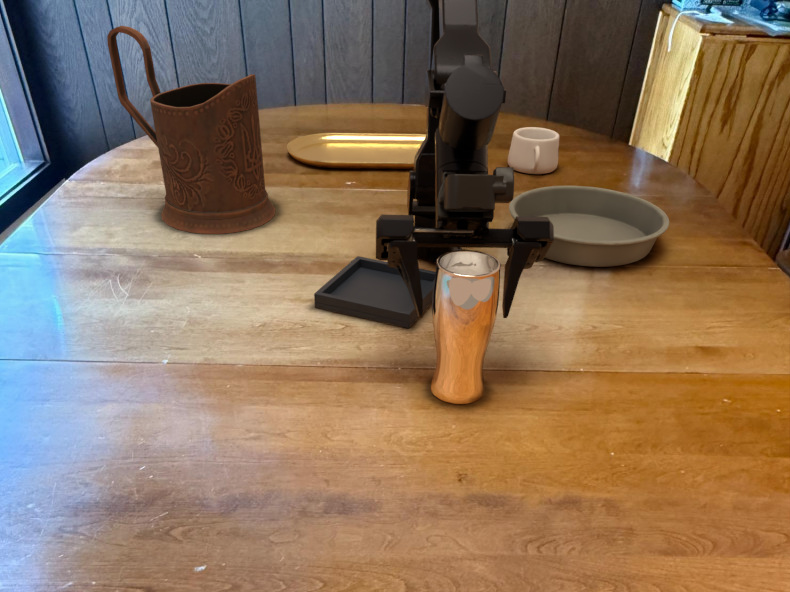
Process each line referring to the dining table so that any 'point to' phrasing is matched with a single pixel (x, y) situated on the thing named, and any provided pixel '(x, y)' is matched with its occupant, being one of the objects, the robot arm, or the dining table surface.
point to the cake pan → (594, 224)
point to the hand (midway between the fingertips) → (463, 316)
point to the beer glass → (463, 322)
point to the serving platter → (357, 150)
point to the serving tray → (373, 293)
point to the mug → (534, 150)
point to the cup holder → (203, 148)
